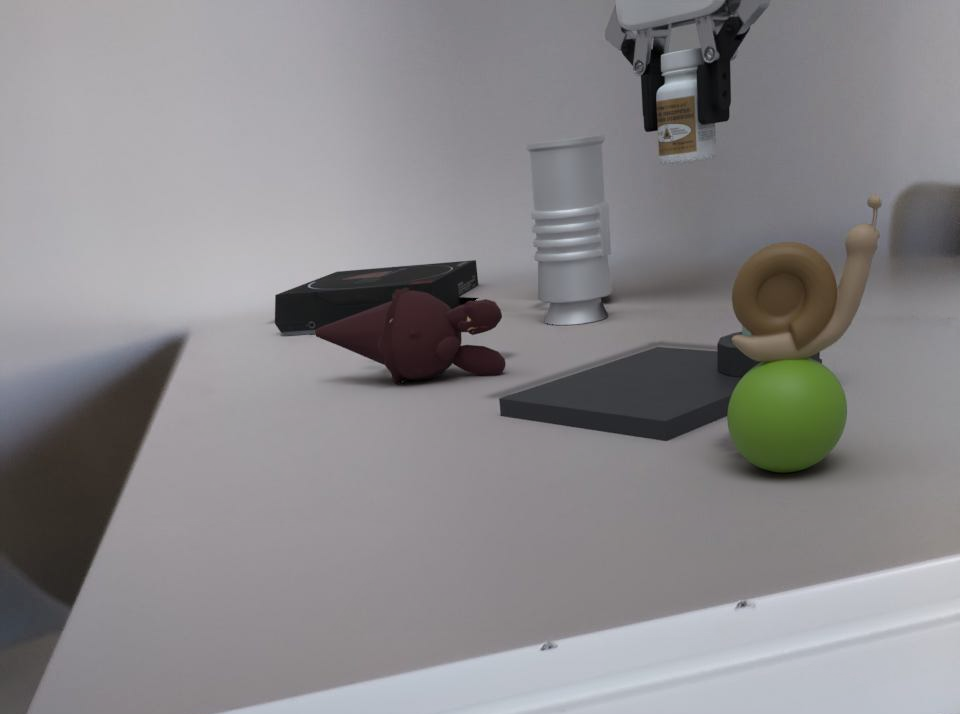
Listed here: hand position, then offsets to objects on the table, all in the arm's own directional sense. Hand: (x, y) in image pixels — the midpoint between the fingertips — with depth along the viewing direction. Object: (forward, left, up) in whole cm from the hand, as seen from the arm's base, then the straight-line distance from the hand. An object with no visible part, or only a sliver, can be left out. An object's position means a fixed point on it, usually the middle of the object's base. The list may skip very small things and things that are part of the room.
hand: (686, 123), depth 80 cm
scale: (+21, +13, -15) cm, 29 cm away
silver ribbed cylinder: (0, -13, -15) cm, 20 cm away
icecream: (+24, -8, -15) cm, 30 cm away
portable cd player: (+4, -37, -15) cm, 40 cm away
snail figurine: (+30, +29, -15) cm, 44 cm away
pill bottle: (0, 0, -3) cm, 3 cm away
